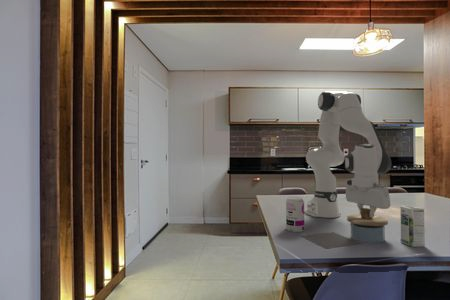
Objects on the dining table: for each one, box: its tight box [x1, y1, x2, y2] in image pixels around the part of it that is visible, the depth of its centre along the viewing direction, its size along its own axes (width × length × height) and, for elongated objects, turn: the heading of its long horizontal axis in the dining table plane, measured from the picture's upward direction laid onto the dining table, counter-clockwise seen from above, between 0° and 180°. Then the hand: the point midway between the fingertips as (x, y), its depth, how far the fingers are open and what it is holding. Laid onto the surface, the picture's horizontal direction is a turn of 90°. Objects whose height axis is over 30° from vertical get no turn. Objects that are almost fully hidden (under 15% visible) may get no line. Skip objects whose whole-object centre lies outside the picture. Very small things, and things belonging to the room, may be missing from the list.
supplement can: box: [285, 196, 306, 233], centre depth 127 cm, size 8×8×15 cm
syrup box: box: [400, 205, 426, 248], centre depth 105 cm, size 6×6×14 cm
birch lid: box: [346, 207, 389, 226], centre depth 113 cm, size 15×15×5 cm
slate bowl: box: [350, 222, 386, 244], centre depth 113 cm, size 12×12×6 cm
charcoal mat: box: [300, 231, 363, 250], centre depth 111 cm, size 17×17×1 cm
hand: (366, 215), depth 113 cm, fingers closed on birch lid, 3 cm apart
